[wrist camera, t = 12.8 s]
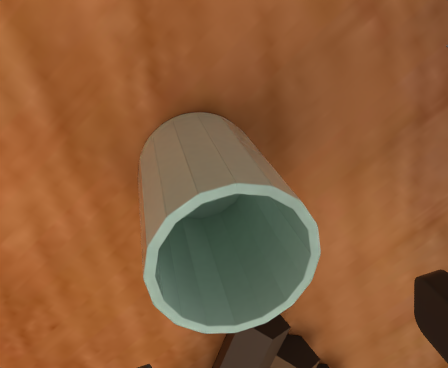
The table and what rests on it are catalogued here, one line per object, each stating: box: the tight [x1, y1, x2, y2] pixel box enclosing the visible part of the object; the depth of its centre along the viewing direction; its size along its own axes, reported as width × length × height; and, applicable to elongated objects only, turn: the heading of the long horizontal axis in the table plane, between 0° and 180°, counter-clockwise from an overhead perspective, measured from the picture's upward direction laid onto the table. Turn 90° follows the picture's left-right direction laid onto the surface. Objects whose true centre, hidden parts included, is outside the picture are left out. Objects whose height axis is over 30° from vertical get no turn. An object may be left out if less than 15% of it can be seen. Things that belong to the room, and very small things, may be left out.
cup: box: [138, 112, 321, 334], centre depth 18 cm, size 6×6×9 cm
